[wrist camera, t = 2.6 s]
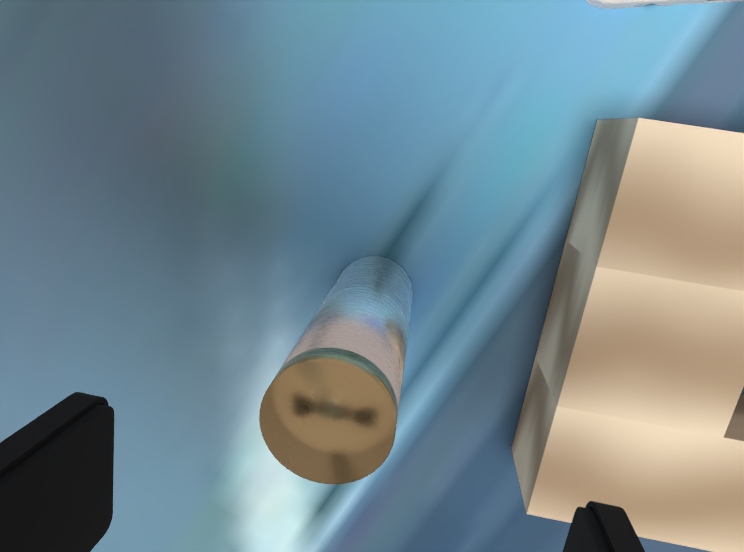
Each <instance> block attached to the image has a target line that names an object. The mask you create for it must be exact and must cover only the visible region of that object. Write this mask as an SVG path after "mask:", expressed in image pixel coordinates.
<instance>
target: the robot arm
mask: <svg viewBox="0 0 744 552" xmlns="http://www.w3.org/2000/svg"><path fill="white" fill-rule="evenodd" d="M113 455H114V410H113V408H112V407H110V406H108V402H107V400H106V399H105V398H104V397H99V396H94V395H90V394H85V393H80V392H75V393H73V394H71V395H70V396H68V397H67V398H65V399H64V400H62V401H61V402H59V403H58V404H57V405H55V406H54V407H52V408H51V409H49V410H48V411H46V412H45V413H43V414H42V415H40V416H39V417H37V418H36V419H35V420H33V421H32V422H30V423H29V424H27V425H26V426H24V427H23V428H21V429H20V430H18V431H17V432H15V433H14V434H12V435H11V436H10V437H8V438H7V439H5V440H4V441H2V442H1V443H0V552H90V551H91V550H92V549H93V547H94V546H95V545H96V544H97V543H98V542H99V540H100V539H101V538H102V537H103V536H104V534H105V533H106V532H107V530H108V528H109V526H110V523H111V520H112V514H113ZM563 552H645V551H644V549H643V547H642V545H641V543H640V541H639V539H638V536H637V534H636V532H635V530H634V528H633V526H632V524H631V522H630V520H629V518H628V516H627V514H626V512H625V511H624V509H623V508H621V507H618V506H613V505H609V504H604V503H599V502H594V501H589V502H588V503H587V505H586V507H585V508H584V507H577V509H576V511H575V513H574V516H573V520H572V523H571V526H570V530H569V533H568V536H567V539H566V543H565V546H564V549H563Z"/></svg>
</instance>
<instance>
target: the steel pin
mask: <svg viewBox="0 0 744 552" xmlns="http://www.w3.org/2000/svg"><path fill="white" fill-rule="evenodd" d="M412 301H413V288H412V284H411V281H410V278H409V276H408V275H407V273H406V272H405V271H404V269H403V268H402V267H401V266H400V265H398V264H397V263H396V262H394V261H392V260H390V259H388V258H385V257H380V256H367V257H362V258H359V259H357V260H355V261H353V262H352V263H350V264H349V265H348V266H347V267H346V268H345V269H344V271H343V272H342V273H341V275H340V276H339V278H338V280H337V281H336V283H335V284H334V286H333V287H332V289H331V291H330V292H329V294H328V295H327V297H326V298H325V300H324V302H323V303H322V305H321V306H320V308H319V309H318V311H317V313H316V314H315V316H314V317H313V319H312V320H311V322H310V323H309V325H308V327H307V328H306V330H305V331H304V333H303V334H302V336H301V338H300V339H299V341H298V342H297V344H296V345H295V347H294V349H293V350H292V352H291V353H290V355H289V356H288V358H287V360H286V361H285V363H284V364H283V366H282V367H281V369H280V370H279V372H278V374H277V375H276V377H275V378H274V380H273V381H272V383H271V385H270V386H269V388H268V389H267V391H266V393H265V395H264V397H263V400H262V403H261V408H260V428H261V432H262V435H263V438H264V440H265V443H266V445H267V446H268V448H269V450H270V451H271V453H272V454H273V455H274V457H275V458H276V459H277V460H278V461H279V462H280V463H281V464H282V465H283V466H285V467H286V468H287V469H289V470H290V471H292V472H293V473H295V474H297V475H299V476H300V477H303V478H305V479H308V480H310V481H314V482H318V483H324V484H344V483H349V482H353V481H356V480H359V479H362V478H364V477H366V476H368V475H369V474H371V473H372V472H374V471H375V470H376V469H377V468H379V467H380V466H381V465H382V463H383V462H384V461H385V460H386V458H387V457H388V455H389V453H390V451H391V449H392V446H393V443H394V439H395V431H396V424H397V416H398V408H399V401H400V393H401V385H402V378H403V370H404V362H405V354H406V347H407V339H408V331H409V324H410V316H411V308H412Z"/></svg>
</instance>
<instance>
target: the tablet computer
mask: <svg viewBox="0 0 744 552" xmlns="http://www.w3.org/2000/svg"><path fill="white" fill-rule="evenodd" d="M586 1H587V2H588V3H589V4H590V5H592V6H595V7H598V8H601V9H618V8H632V7H642V6H644V5H648V4H655V5H658V6H668V5H684V4H703V3H713V2H732V1H744V0H586Z"/></svg>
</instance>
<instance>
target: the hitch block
mask: <svg viewBox="0 0 744 552" xmlns="http://www.w3.org/2000/svg"><path fill="white" fill-rule="evenodd" d="M743 387H744V133H738V132H732V131H725V130H718V129H711V128H704V127H698V126H691V125H684V124H677V123H671V122H664V121H657V120H650V119H643V118H623V119H600V120H597V123H596V126H595V130H594V134H593V138H592V142H591V146H590V149H589V153H588V157H587V161H586V165H585V169H584V172H583V176H582V180H581V184H580V188H579V192H578V195H577V199H576V203H575V207H574V211H573V215H572V218H571V222H570V226H569V230H568V234H567V238H566V241H565V245H564V249H563V253H562V257H561V261H560V264H559V268H558V272H557V276H556V280H555V284H554V287H553V291H552V295H551V299H550V303H549V307H548V310H547V314H546V318H545V322H544V326H543V330H542V333H541V337H540V341H539V345H538V349H537V353H536V356H535V360H534V364H533V368H532V372H531V376H530V379H529V383H528V387H527V391H526V395H525V398H524V402H523V406H522V410H521V414H520V418H519V421H518V425H517V429H516V433H515V437H514V441H513V444H512V448H511V450H512V454H513V458H514V463H515V467H516V471H517V475H518V480H519V484H520V488H521V492H522V496H523V501H524V505H525V509H526V513H527V514H530V515H535V516H540V517H544V518H549V519H554V520H559V521H564V522H569V523H572V520H573V516H574V513H575V511H576V509H577V507H584V508H585V507H586V505H587V503H588V502H589V501H594V502H599V503H604V504H609V505H613V506H618V507H621V508H623V509H624V511H625V512H626V514H627V516H628V518H629V520H630V522H631V524H632V526H633V528H634V530H635V532H636V534H637V536H638V537H643V538H648V539H653V540H658V541H663V542H668V543H673V544H678V545H683V546H688V547H693V548H698V549H703V550H708V551H712V552H744V394H741V392H742V389H743Z"/></svg>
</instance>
